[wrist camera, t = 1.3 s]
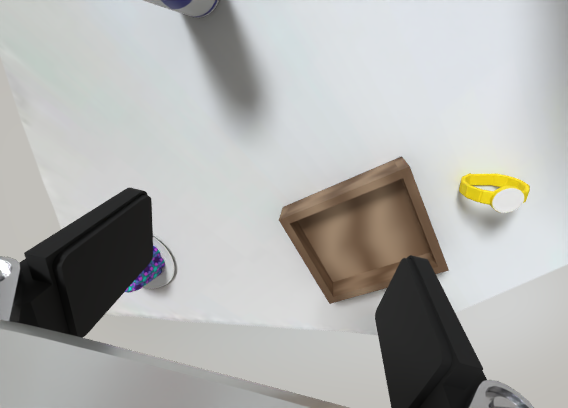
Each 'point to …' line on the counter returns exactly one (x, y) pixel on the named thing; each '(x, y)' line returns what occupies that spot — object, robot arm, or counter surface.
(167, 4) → the energy drink
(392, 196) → the box
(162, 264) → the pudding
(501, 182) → the watch
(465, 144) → the counter surface
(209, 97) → the counter surface
